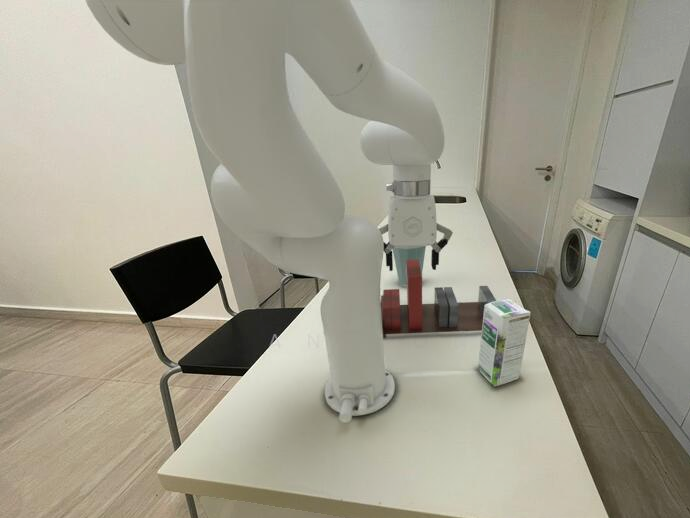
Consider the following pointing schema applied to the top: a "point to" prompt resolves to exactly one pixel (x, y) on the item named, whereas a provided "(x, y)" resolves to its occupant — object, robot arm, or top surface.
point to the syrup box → (503, 341)
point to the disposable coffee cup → (407, 254)
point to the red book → (414, 294)
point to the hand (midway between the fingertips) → (412, 268)
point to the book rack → (435, 312)
